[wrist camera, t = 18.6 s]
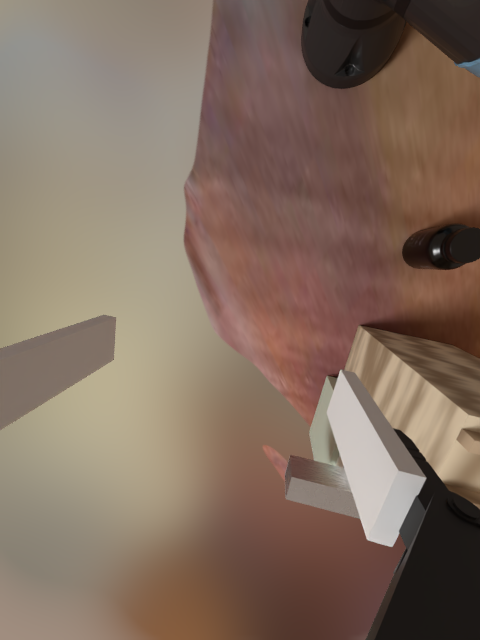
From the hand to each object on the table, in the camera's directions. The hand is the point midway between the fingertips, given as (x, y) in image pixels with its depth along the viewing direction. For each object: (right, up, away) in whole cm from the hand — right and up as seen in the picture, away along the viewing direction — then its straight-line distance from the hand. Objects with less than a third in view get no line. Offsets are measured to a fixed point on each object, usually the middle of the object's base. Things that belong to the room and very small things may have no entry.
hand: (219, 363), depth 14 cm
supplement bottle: (+34, +16, +31) cm, 49 cm away
